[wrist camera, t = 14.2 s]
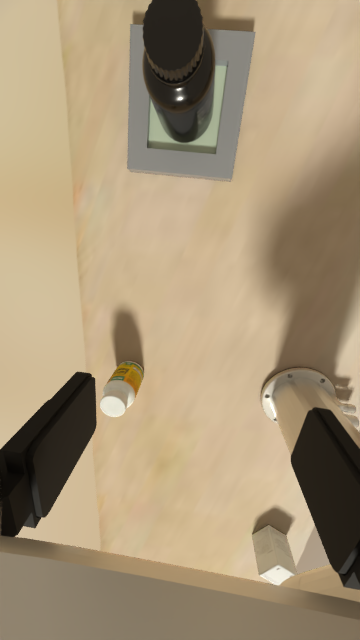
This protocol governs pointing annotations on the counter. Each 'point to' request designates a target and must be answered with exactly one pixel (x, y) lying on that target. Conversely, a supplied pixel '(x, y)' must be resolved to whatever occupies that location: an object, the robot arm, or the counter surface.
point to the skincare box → (273, 555)
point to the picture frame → (223, 131)
